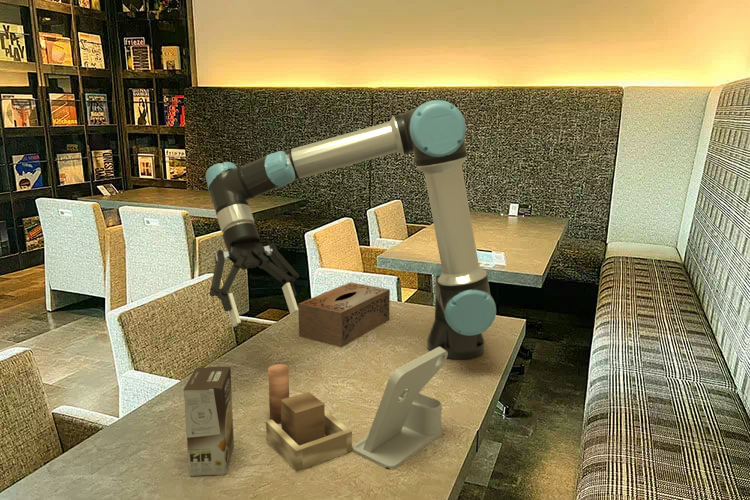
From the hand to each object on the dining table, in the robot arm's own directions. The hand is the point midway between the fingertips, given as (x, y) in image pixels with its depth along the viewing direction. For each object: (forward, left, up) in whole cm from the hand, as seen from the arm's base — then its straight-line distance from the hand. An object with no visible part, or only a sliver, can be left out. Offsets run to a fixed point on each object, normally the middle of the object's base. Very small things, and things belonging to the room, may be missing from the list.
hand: (266, 318), depth 122 cm
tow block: (-4, +15, -18) cm, 24 cm away
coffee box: (+10, +23, -18) cm, 31 cm away
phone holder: (-24, +22, -18) cm, 38 cm away
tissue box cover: (-22, -40, -19) cm, 49 cm away
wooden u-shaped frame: (-7, +21, -18) cm, 28 cm away
